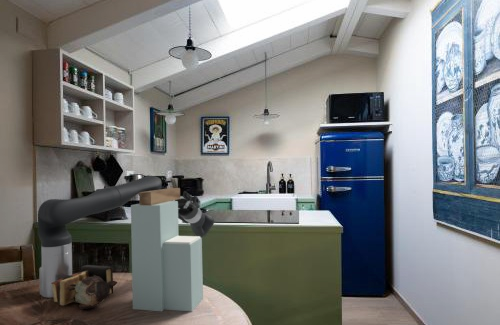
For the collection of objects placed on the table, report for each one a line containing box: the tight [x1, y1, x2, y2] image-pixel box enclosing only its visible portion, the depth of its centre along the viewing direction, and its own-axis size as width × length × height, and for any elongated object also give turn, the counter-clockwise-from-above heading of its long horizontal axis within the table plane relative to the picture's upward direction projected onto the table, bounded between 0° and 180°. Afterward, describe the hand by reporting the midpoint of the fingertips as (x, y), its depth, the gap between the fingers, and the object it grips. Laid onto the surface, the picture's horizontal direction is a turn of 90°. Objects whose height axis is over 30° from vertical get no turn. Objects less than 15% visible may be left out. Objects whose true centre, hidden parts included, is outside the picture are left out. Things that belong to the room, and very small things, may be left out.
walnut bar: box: [138, 187, 181, 205], centre depth 106 cm, size 4×20×4 cm, turn 167°
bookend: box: [51, 264, 118, 310], centre depth 102 cm, size 15×11×25 cm
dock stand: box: [130, 200, 204, 312], centre depth 100 cm, size 19×12×32 cm, turn 77°
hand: (173, 193), depth 113 cm, fingers open, 8 cm apart
